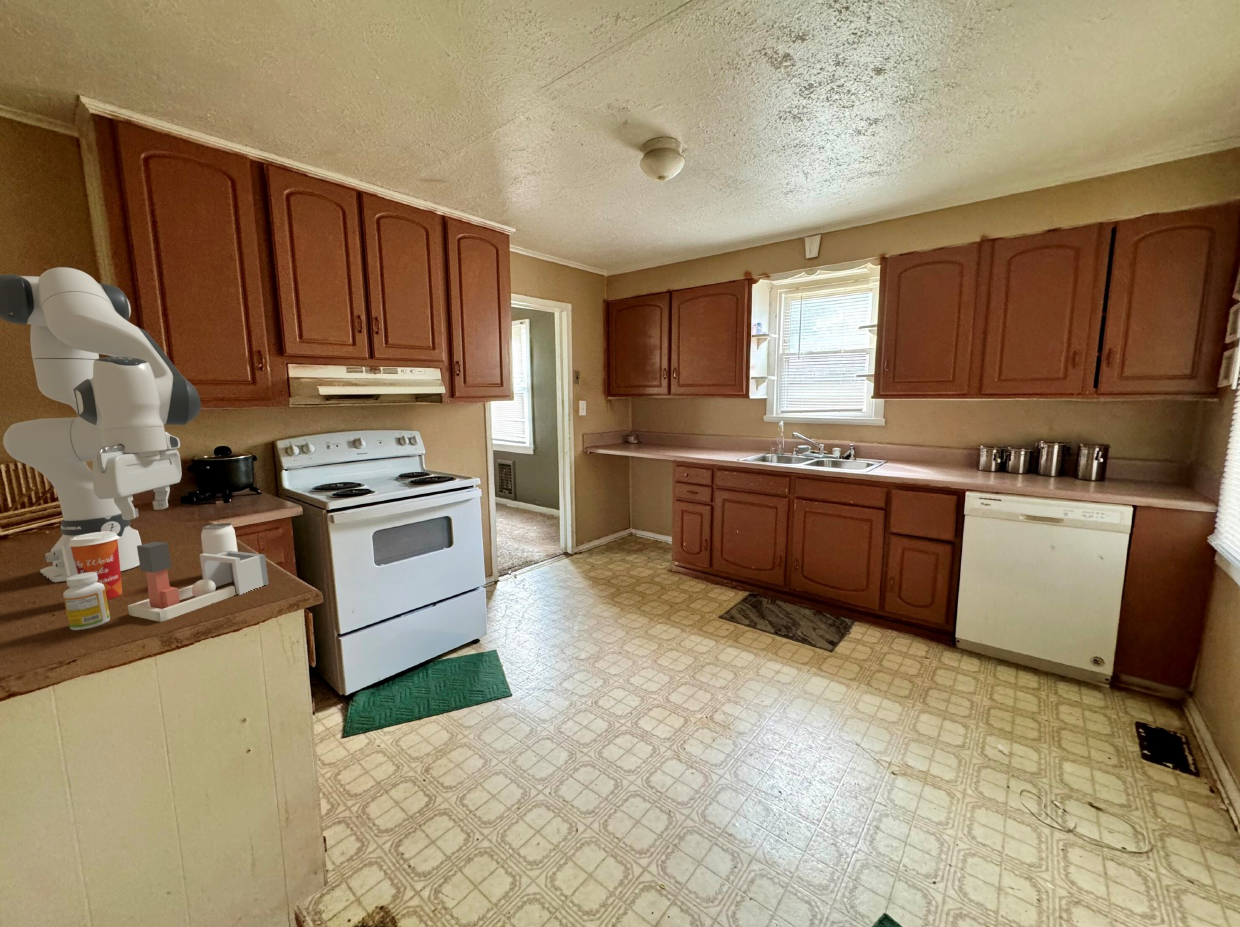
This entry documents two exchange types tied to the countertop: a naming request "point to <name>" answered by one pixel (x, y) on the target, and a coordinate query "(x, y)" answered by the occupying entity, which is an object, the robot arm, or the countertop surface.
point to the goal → (235, 569)
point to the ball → (203, 587)
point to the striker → (157, 574)
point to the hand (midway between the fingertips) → (146, 513)
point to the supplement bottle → (85, 601)
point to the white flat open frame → (156, 614)
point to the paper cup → (99, 559)
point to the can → (218, 538)
